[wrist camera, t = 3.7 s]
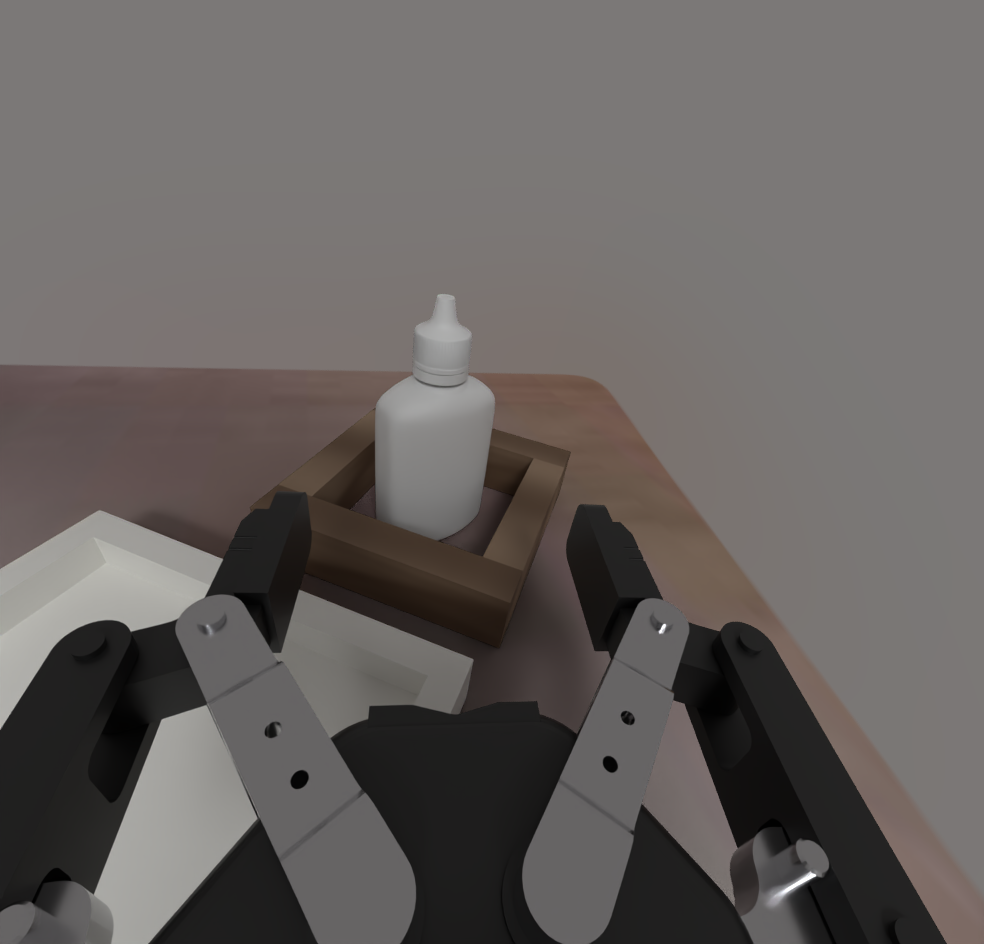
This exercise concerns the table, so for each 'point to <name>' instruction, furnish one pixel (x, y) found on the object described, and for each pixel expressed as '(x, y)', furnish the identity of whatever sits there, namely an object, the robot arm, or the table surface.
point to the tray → (193, 734)
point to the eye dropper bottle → (434, 433)
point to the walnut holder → (418, 559)
